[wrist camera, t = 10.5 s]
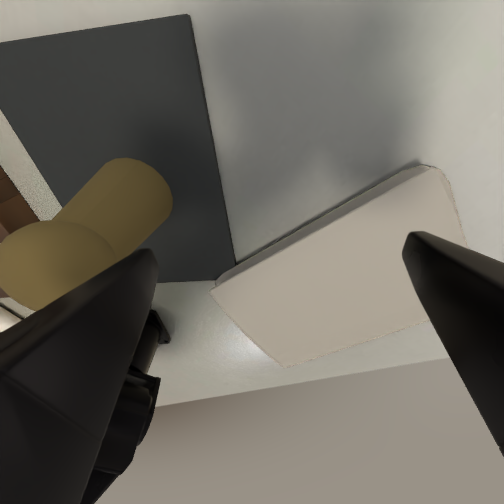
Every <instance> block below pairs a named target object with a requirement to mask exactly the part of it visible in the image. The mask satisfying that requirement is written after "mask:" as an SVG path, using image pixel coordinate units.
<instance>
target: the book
mask: <svg viewBox="0 0 504 504" xmlns="http://www.w3.org/2000/svg"><path fill="white" fill-rule="evenodd" d="M412 231H425V232H428V233H430V234H433V235H435V236H438V237H440V238H443V239H445V240H448V241H450V242H453V243H455V244H458V245H460V246H463V247H465V248H468V249H469V247H468V245H467V242H466V239H465V236H464V234H463V231H462V228H461V224H460V220H459V216H458V212H457V209H456V205H455V201H454V197H453V193H452V190H451V186H450V182H449V181H448V180H447V178H446V177H445V176H444V174H443V173H442V171H441V170H440V169H436V168H434V167H433V166H432V167H428V166H424V165H420V166H417V167H414V168H411V169H408V170H404V171H401V172H399V173H398V174H396V175H394V176H392V177H391V178H389V179H387V180H385V181H384V182H382V183H380V184H378V185H377V186H375V187H373V188H371V189H370V190H368V191H366V192H364V193H363V194H361V195H359V196H357V197H356V198H354V199H352V200H350V201H349V202H347V203H345V204H343V205H342V206H340V207H338V208H336V209H335V210H333V211H331V212H330V213H328V214H326V215H324V216H323V217H321V218H319V219H317V220H316V221H314V222H312V223H310V224H309V225H307V226H305V227H303V228H302V229H300V230H298V231H296V232H295V233H293V234H291V235H289V236H288V237H286V238H284V239H282V240H281V241H279V242H277V243H275V244H274V245H272V246H270V247H268V248H267V249H265V250H263V251H261V252H260V253H258V254H256V255H254V256H253V257H251V258H249V259H247V260H246V261H244V262H242V263H240V264H239V265H237V266H235V267H233V268H232V269H230V270H228V271H226V272H225V273H223V274H222V275H221V276H220V277H219V278H218V279H217V280H216V281H215V287H213V288H212V289H210V290H209V291H208V292H209V293H210V294H211V296H212V297H213V298H214V299H215V301H216V302H217V303H218V304H219V306H220V307H221V308H222V309H223V311H224V312H225V313H226V315H227V316H228V317H229V318H230V319H231V320H232V321H233V322H234V323H235V324H236V325H237V326H238V327H239V328H240V330H241V331H242V332H243V333H244V334H245V335H246V336H247V337H248V338H250V339H251V340H252V341H253V342H254V343H255V344H256V345H257V346H258V347H259V348H260V349H261V350H262V351H263V352H265V353H266V354H267V355H268V356H269V357H270V358H271V359H273V360H274V361H275V362H276V363H278V364H279V365H280V366H282V367H283V368H284V369H285V368H288V367H291V366H294V365H297V364H300V363H303V362H306V361H309V360H312V359H315V358H318V357H321V356H324V355H327V354H330V353H333V352H336V351H339V350H342V349H345V348H348V347H351V346H354V345H357V344H360V343H363V342H366V341H369V340H372V339H375V338H378V337H381V336H384V335H387V334H390V333H393V332H396V331H399V330H402V329H405V328H408V327H411V326H414V325H417V324H420V323H423V322H426V321H429V320H430V319H429V317H428V315H427V313H426V312H425V310H424V308H423V306H422V304H421V302H420V300H419V298H418V296H417V294H416V292H415V290H414V287H413V285H412V282H411V279H410V277H409V274H408V272H407V269H406V267H405V264H404V262H403V259H402V249H403V246H404V243H405V240H406V237H407V235H408V233H410V232H412Z"/></svg>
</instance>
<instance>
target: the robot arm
mask: <svg viewBox="0 0 504 504" xmlns="http://www.w3.org/2000/svg"><path fill="white" fill-rule="evenodd" d="M402 259H403V262H404V264H405V267H406V269H407V272H408V274H409V277H410V279H411V282H412V285H413V287H414V290H415V292H416V294H417V296H418V298H419V300H420V302H421V304H422V306H423V308H424V310H425V312H426V313H427V315H428V317H429V319H430V321H431V323H432V325H433V326H434V328H435V330H436V332H437V334H438V336H439V338H440V339H441V341H442V343H443V345H444V347H445V349H446V351H447V352H448V354H449V356H450V358H451V360H452V361H453V363H454V365H455V367H456V369H457V371H458V373H459V375H460V377H461V378H462V380H463V382H464V384H465V386H466V387H467V389H468V391H469V393H470V395H471V397H472V399H473V401H474V402H475V404H476V406H477V408H478V410H479V412H480V414H481V415H482V417H483V419H484V421H485V423H486V425H487V426H488V428H489V430H490V432H491V434H492V436H493V438H494V440H495V441H496V443H497V445H498V446H499V449H500V451H501V453H502V455H503V456H504V263H503V262H500V261H498V260H495V259H493V258H490V257H488V256H485V255H483V254H480V253H478V252H475V251H473V250H470V249H468V248H465V247H463V246H460V245H458V244H455V243H453V242H450V241H448V240H445V239H443V238H440V237H438V236H435V235H433V234H430V233H428V232H425V231H412V232H410V233H408V235H407V237H406V240H405V243H404V246H403V249H402ZM158 274H159V264H158V262H157V260H156V258H155V255H154V253H153V251H152V250H151V249H150V248H143V249H138V250H136V251H135V252H133V253H131V254H130V255H128V256H126V257H125V258H123V259H121V260H120V261H118V262H117V263H115V264H113V265H112V266H110V267H108V268H107V269H105V270H103V271H102V272H100V273H99V274H97V275H95V276H94V277H92V278H90V279H89V280H87V281H85V282H84V283H82V284H81V285H79V286H77V287H76V288H74V289H72V290H71V291H69V292H67V293H66V294H64V295H63V296H61V297H59V298H58V299H56V300H54V301H53V302H51V303H49V304H48V305H46V306H45V307H44V308H42V309H40V310H38V311H36V312H35V313H33V314H31V315H30V316H28V317H26V318H25V319H23V320H21V321H20V322H18V323H16V324H15V325H13V326H11V327H10V328H8V329H6V330H4V331H3V332H1V333H0V504H94V503H95V502H96V501H97V500H98V499H99V498H100V496H101V495H102V494H103V493H104V492H105V491H106V490H107V488H108V487H109V486H110V485H111V484H112V483H113V482H114V480H115V479H116V478H117V477H118V476H119V475H121V474H122V473H123V472H124V471H125V470H126V468H127V467H128V466H129V464H130V463H131V462H132V460H133V457H134V453H135V450H136V446H138V445H139V444H140V443H141V442H142V440H143V438H144V436H145V435H146V433H147V430H148V428H149V426H150V423H151V420H152V417H153V413H154V409H155V404H156V400H157V395H158V390H159V386H160V381H161V378H159V377H153V376H150V375H147V373H148V370H149V367H150V365H151V362H152V359H153V357H154V354H155V351H156V349H157V346H158V344H168V343H170V340H171V339H170V337H169V335H168V333H167V331H166V329H165V327H164V325H163V323H162V321H161V319H160V317H159V316H158V314H157V312H156V311H154V310H150V307H151V304H152V300H153V296H154V292H155V287H156V283H157V279H158Z"/></svg>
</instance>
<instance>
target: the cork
mask: <svg viewBox="0 0 504 504" xmlns="http://www.w3.org/2000/svg"><path fill="white" fill-rule="evenodd" d="M172 207H173V197H172V194H171V191H170V187H169V186H168V184H167V183H166V181H165V180H164V178H163V177H162V176H161V175H160V174H159V173H158V172H157V171H156V170H155V169H154V168H153V167H151V166H149V165H147V164H145V163H144V162H142V161H140V160H135V159H131V158H116V159H113V160H111V161H109V162H107V163H105V164H104V166H103V167H102V168H101V169H100V170H99V171H98V172H97V173H96V174H95V175H94V176H93V177H92V178H91V179H90V180H89V181H88V182H87V183H86V184H85V185H84V186H83V188H82V189H81V190H80V191H79V192H78V193H77V194H76V195H75V196H74V197H73V198H72V199H71V200H70V201H69V202H68V203H67V204H66V205H65V206H64V207H63V208H62V210H61V211H60V212H59V213H58V214H57V215H56V216H55V217H54V218H53V219H52V220H49V221H39V222H35V223H32V224H29V225H27V226H25V227H22V228H20V229H18V230H16V231H15V232H13V233H12V234H10V235H8V236H7V237H6V238H5V239H4V240H3V242H2V243H1V244H0V287H1V288H2V289H3V290H4V291H5V292H6V293H7V294H8V296H9V297H11V298H12V299H14V300H15V301H17V302H18V303H20V304H21V305H23V306H25V307H27V308H29V309H31V310H34V311H38V310H40V309H42V308H44V307H45V306H46V305H48V304H49V303H51V302H53V301H54V300H56V299H58V298H59V297H61V296H63V295H64V294H66V293H67V292H69V291H71V290H72V289H74V288H76V287H77V286H79V285H81V284H82V283H84V282H85V281H87V280H89V279H90V278H92V277H94V276H95V275H97V274H99V273H100V272H102V271H103V270H105V269H107V268H108V267H110V266H112V265H113V264H115V263H117V262H118V261H120V260H121V259H123V258H125V257H126V256H128V255H130V254H131V253H132V252H133V251H134V250H135V249H136V248H137V247H138V246H139V245H140V244H141V243H143V242H144V241H145V240H146V239H147V238H148V237H149V236H150V235H151V234H152V233H153V232H154V231H155V230H156V229H157V228H158V227H159V226H160V225H161V224H162V223H163V222H164V221H165V220H166V219H167V218H168V217H169V215H170V213H171V211H172Z"/></svg>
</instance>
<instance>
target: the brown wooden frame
mask: <svg viewBox="0 0 504 504" xmlns="http://www.w3.org/2000/svg"><path fill="white" fill-rule="evenodd" d="M35 222H39V219H38V218H37V217H36V215H35V214H34V212H33V211H32V210H31V208H30V207H29V206H28V204H27V203H26V201H25V200H24V199H23V197H22V196H21V194H19V192H18V190H17V189H16V187H15V186H14V185H13V183H12V182H11V180H10V179H9V178H8V177H7V175H6V173H5V172H4V171H3V169H2V168H1V166H0V243H2V242H3V240H4V239H5V238H6V237H7V236H8V235H10V234H12V233H13V232H15V231H16V230H18V229H20V228H22V227H25V226H27V225H29V224H32V223H35ZM6 297H9V296H8V294H7V293H6V292H5V291H4V290H3V289H2V288H1V287H0V298H6Z"/></svg>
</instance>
